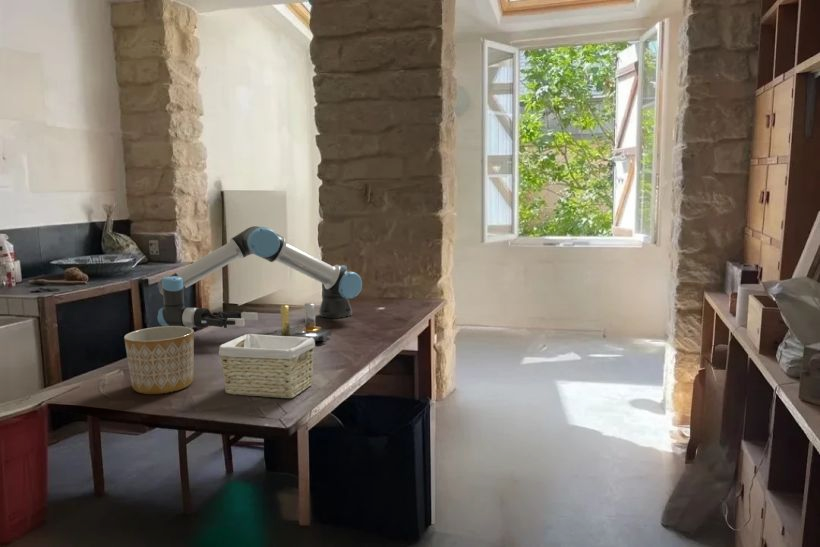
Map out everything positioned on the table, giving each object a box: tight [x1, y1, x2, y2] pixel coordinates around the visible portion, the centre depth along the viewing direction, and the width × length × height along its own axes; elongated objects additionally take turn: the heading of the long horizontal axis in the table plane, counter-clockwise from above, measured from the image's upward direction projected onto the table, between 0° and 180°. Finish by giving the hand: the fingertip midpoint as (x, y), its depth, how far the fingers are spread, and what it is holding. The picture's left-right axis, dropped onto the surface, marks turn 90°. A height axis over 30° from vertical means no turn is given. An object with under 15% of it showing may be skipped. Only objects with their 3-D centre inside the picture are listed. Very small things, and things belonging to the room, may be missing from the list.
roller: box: [304, 302, 317, 330], centre depth 246 cm, size 4×4×10 cm
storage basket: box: [218, 333, 316, 399], centre depth 183 cm, size 24×16×15 cm
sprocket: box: [270, 304, 332, 343], centre depth 240 cm, size 23×23×14 cm
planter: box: [123, 325, 195, 395], centre depth 187 cm, size 19×19×16 cm
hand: (250, 319), depth 236 cm, fingers open, 10 cm apart
